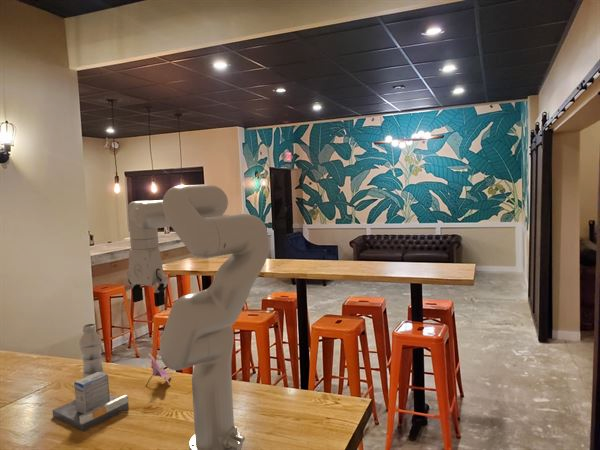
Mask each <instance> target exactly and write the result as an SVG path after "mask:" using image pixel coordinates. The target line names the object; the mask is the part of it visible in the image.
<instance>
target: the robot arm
mask: <svg viewBox="0 0 600 450" xmlns="http://www.w3.org/2000/svg"><path fill="white" fill-rule="evenodd" d="M228 207H229V199H228V197H227V194H226V192H225V191H224V190H223V189H222V188H220V187H219V186H217V185H213V184H187V185H175V186H172V187H171V188H169V189H168V190H167V191H166V192H165V194H164V195H163V198H162V199H159V200H158V199H157V200H135V201H131V202H130V203H128V205H127V212H128V213H127V214H128V227H129V239H130V242H129V243H130V249H129V254H128V271H126V273H125V275H126V276H127V279H128V284H130V287H129V288H130V289H131V295H132V303H138V302H141V301H143V300H144V293H143V291H144V290H143V286H144V287H152V288H153V290H154V292H153V300H154V301H153V303H154V307H156V308H157V307H161V306H164V305H166V297H165V291H166V290H167V289H166V288H168V283H169V280H170V278H169V276H168V275H167V274H166V273H164V267H163V266H164V265H163V261H162V255H161V250H160V246H159V233H158V232H159V231H158V229H161V228H170V227H171V229H172V230H173V231H174V232H175V234H176V236H178V238H179V239H180V240H181V242H182V243H183V245H184V246H185V247H186V249H187V251H189V252H190V253H191V254H192V255H193V256H195V257H197V258H201V259H210V258H215V257H223V256H226V255H227V256H228V255H230V256H229V257H228V258H227V259H226V260H225V261H224V262H223V263H222V264H221V265H220V267H219V268H218V270H217V271H216V273H215V275H214V277H213V281H212V283H211V284H210V286H209V287H208V288H206V289H203V290H199V291H195V292H191V293H188V294H185V295H182V296H180V297H179V298H178V299H176V300H175V302H174V303H173V305H172V306H171V309H170V311H169V314H168V318H167V320H166V323H165V326H164V329H163V332H162V335H161V338H160V345H159V354H160V357H161V360H162V363H163V364H164V366H165V367H166V368H168V369H169V370H173V371H180V370H181V371H183V370H185V369H189V368H190V367H191V368H192V367H193V366H194V367H193V371H192V375H191V384H192V385H191V389H192V390H191V391H192V407H193V421H194V422H193V423H194V435H192V437H191V438H190V440H189V442H188V443H189V444H188V445H189V447H188V448H189V450H242V449H243V443H244V442H245V440H246V438H245V436H243V435H241V433H240V431H239V430H238V426H236V425H235V421H234V419H235V418H234V401H233V399H234V398H233V383H232V382H233V379H232V357H233V356H232V355H233V349H234V342H235V341H234V340H235V335H234V330H233V327H232V326H233V325H235V323H236V322H237V321H238V319H239V317H240V315H241V313H242V311H243V308H244V306H245V304H246V302H247V299H248V297H249V294H250V292H251V290H252V288H253V285H254V284H255V282H256V280H257V278H258V277H259V275H260V273H261V272H262V270H263V268H264V266H265V263H266V261H267V259H268V254H269V249H270V248H269V247H270V242H269V241H270V239H269V234H268V229H267V226H266V225H265V223H264V221H262V219H261V218H259V217H258V216H256V215H255V214H254V215H253V214H249V213H229V214H225V212H226V211H227V209H228Z"/></svg>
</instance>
